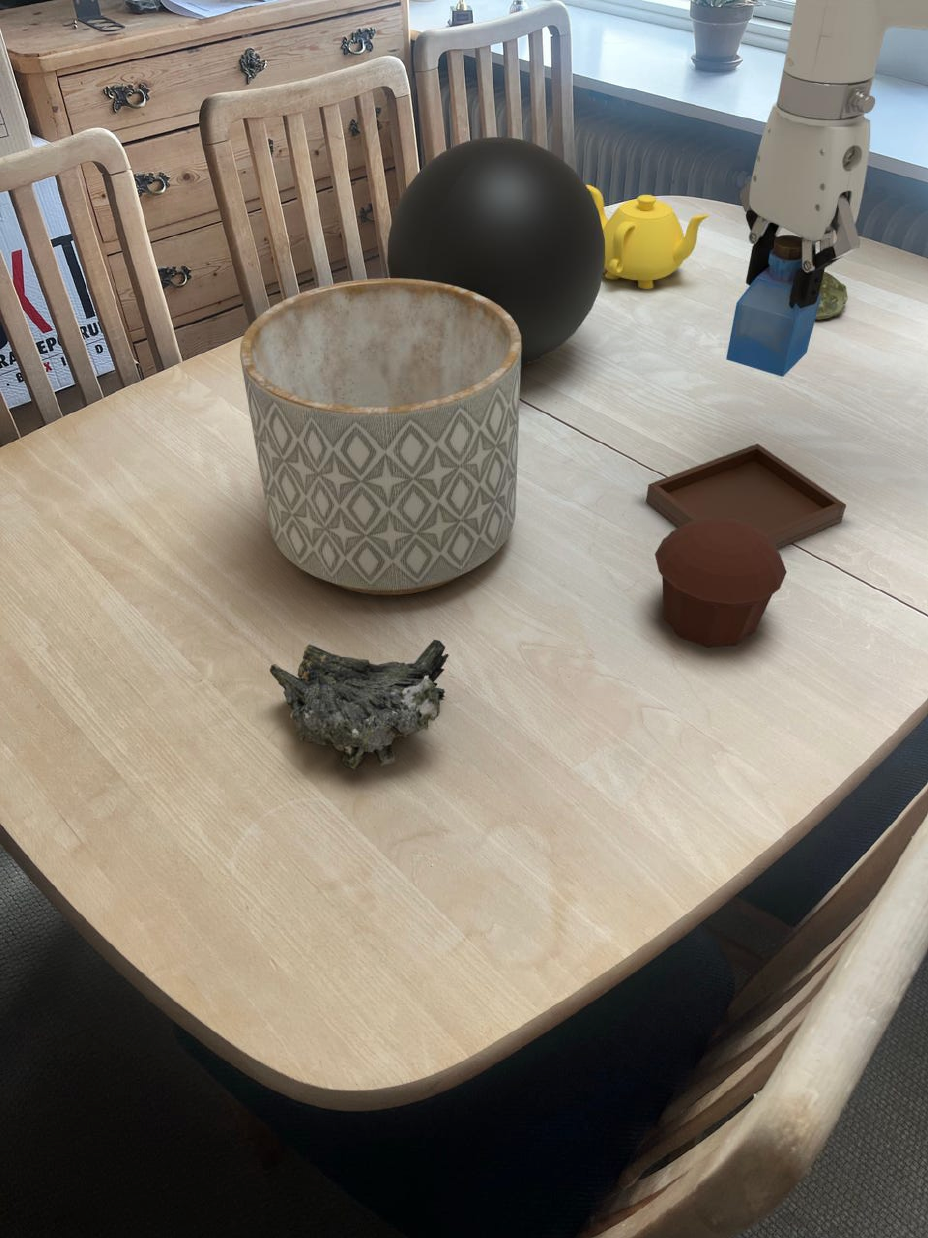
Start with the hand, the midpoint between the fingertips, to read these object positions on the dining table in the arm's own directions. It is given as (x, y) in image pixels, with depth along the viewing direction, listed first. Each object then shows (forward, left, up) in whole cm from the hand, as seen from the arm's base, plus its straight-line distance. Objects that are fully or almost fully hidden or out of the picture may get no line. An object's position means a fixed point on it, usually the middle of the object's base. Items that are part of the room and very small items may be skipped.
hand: (780, 292), depth 100 cm
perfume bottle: (0, 0, -7) cm, 7 cm away
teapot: (-21, -47, -22) cm, 56 cm away
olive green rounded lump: (-36, -27, -22) cm, 50 cm away
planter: (+39, -10, -22) cm, 46 cm away
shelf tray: (+5, +6, -21) cm, 23 cm away
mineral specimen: (+53, +12, -22) cm, 58 cm away
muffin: (+19, +17, -22) cm, 33 cm away
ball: (+10, -37, -22) cm, 44 cm away
